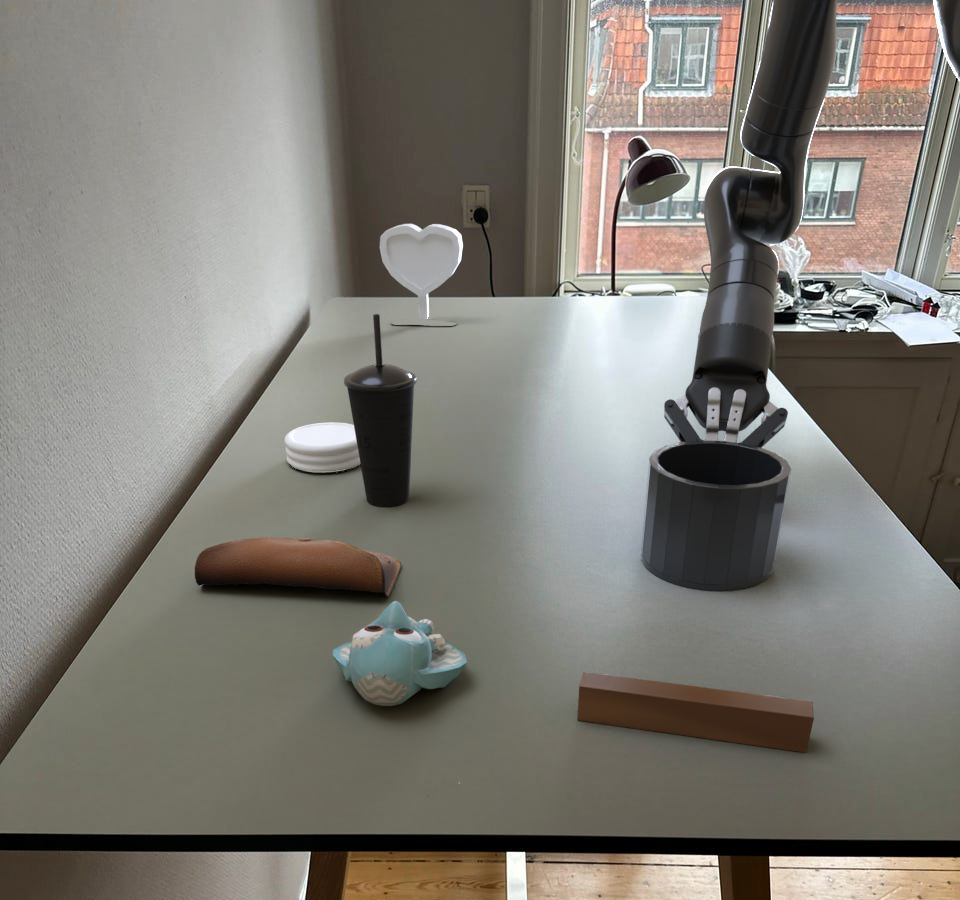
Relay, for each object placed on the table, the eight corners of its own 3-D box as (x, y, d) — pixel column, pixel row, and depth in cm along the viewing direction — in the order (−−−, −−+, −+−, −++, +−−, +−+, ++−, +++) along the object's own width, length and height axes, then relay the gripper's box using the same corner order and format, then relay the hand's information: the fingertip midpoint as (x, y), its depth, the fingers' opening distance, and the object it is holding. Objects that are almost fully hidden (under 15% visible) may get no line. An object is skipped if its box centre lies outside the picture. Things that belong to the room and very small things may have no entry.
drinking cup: (376, 482, 108) (364, 304, 98) (433, 492, 105) (427, 310, 95) (340, 504, 102) (323, 318, 92) (399, 516, 99) (389, 325, 89)
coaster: (327, 481, 109) (324, 452, 107) (270, 463, 114) (266, 436, 112) (384, 457, 115) (382, 430, 114) (328, 442, 121) (325, 416, 119)
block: (581, 705, 69) (583, 671, 67) (805, 736, 65) (812, 701, 63) (577, 720, 67) (579, 686, 65) (806, 753, 63) (814, 717, 62)
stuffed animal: (482, 581, 74) (451, 629, 63) (480, 663, 77) (449, 724, 65) (354, 571, 76) (302, 616, 65) (356, 652, 78) (306, 709, 67)
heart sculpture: (383, 325, 181) (377, 226, 172) (389, 320, 186) (383, 223, 176) (460, 327, 179) (458, 227, 170) (464, 321, 183) (463, 223, 174)
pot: (736, 528, 96) (750, 435, 91) (798, 582, 85) (817, 481, 80) (622, 540, 94) (630, 446, 88) (670, 597, 83) (682, 493, 78)
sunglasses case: (405, 556, 89) (394, 516, 83) (394, 619, 86) (382, 581, 80) (227, 548, 91) (205, 508, 86) (210, 609, 88) (186, 571, 82)
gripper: (671, 316, 94) (647, 471, 91) (805, 323, 91) (786, 484, 88) (670, 355, 102) (648, 501, 98) (795, 363, 99) (776, 513, 95)
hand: (713, 492), depth 93 cm, fingers closed
